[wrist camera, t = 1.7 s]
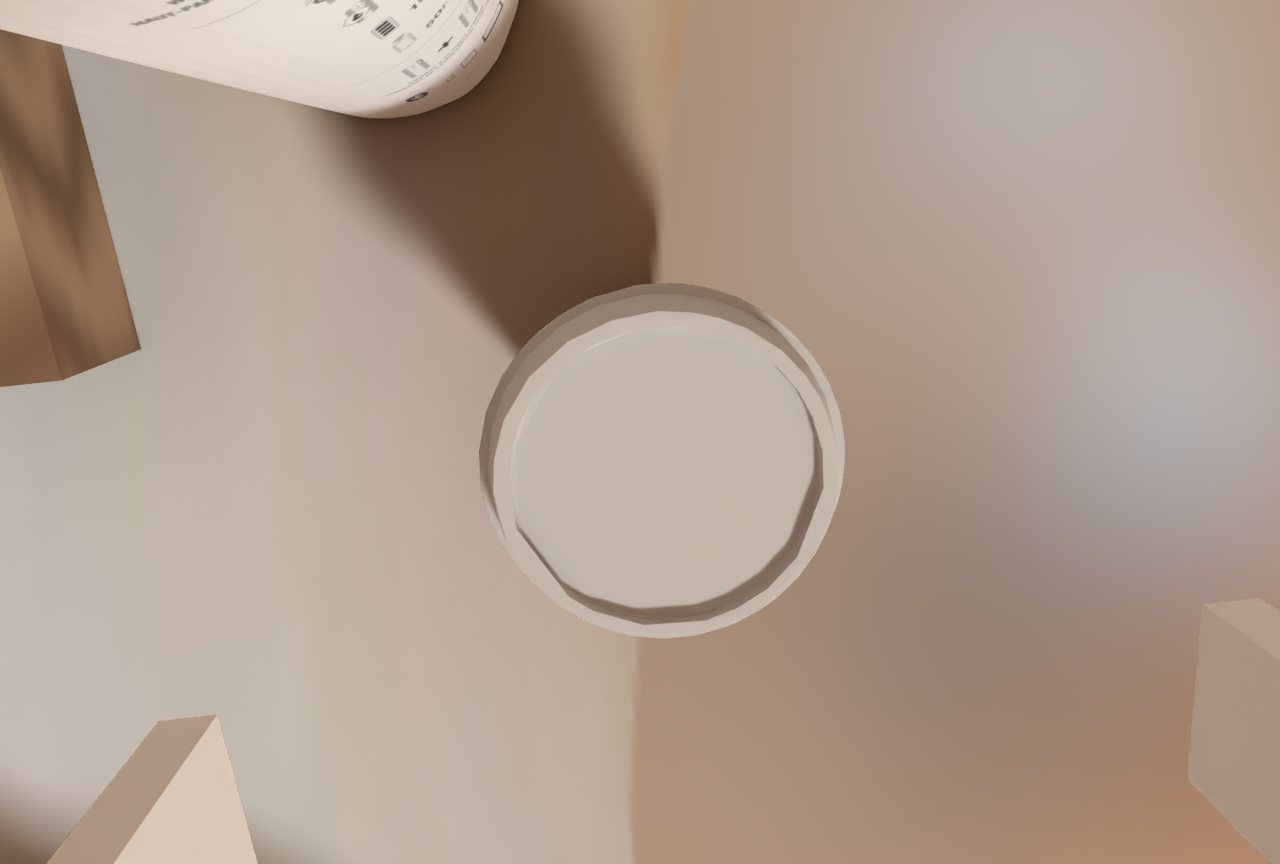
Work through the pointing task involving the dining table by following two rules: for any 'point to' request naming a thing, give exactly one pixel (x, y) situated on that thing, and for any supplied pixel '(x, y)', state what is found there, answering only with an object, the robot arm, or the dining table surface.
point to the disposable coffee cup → (662, 460)
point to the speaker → (292, 45)
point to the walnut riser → (52, 228)
